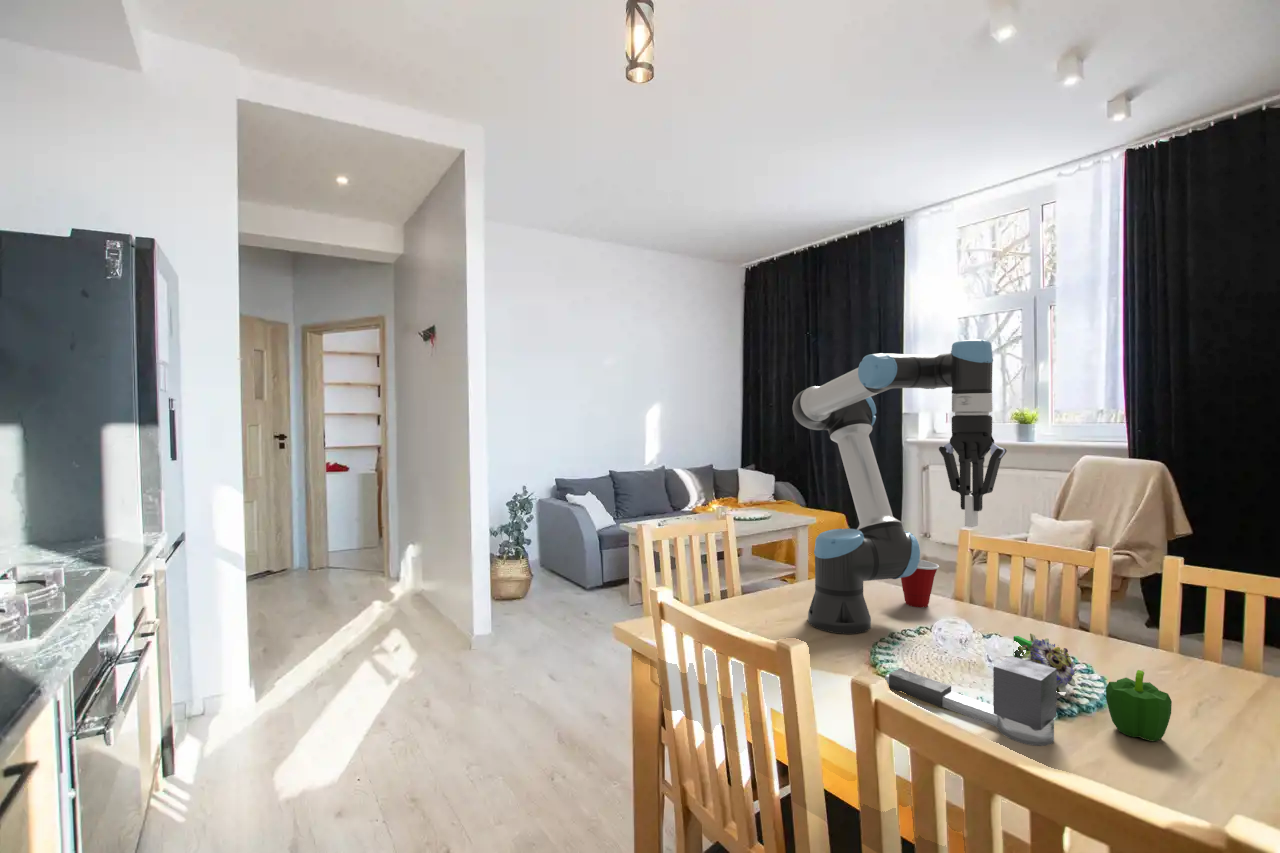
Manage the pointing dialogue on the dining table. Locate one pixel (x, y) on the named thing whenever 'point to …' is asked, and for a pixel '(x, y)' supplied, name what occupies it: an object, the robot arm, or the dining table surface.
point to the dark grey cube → (1024, 692)
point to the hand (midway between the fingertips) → (971, 525)
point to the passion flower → (1050, 660)
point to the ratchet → (967, 707)
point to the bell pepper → (1138, 707)
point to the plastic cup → (919, 584)
